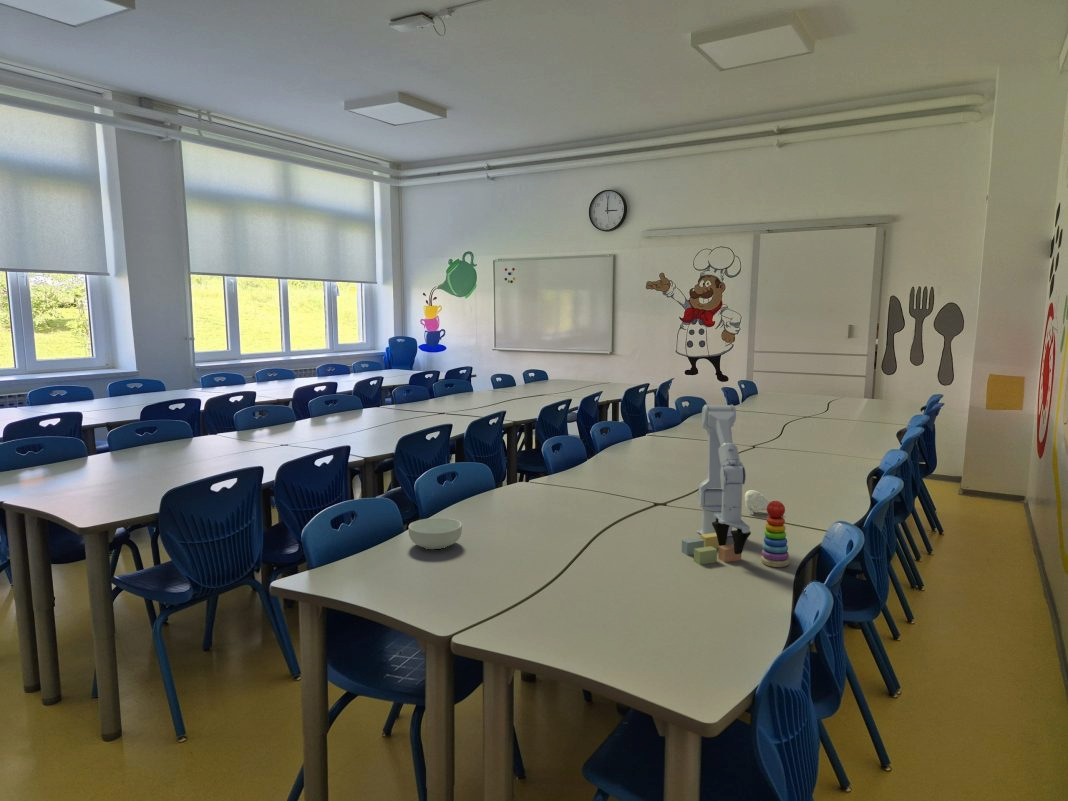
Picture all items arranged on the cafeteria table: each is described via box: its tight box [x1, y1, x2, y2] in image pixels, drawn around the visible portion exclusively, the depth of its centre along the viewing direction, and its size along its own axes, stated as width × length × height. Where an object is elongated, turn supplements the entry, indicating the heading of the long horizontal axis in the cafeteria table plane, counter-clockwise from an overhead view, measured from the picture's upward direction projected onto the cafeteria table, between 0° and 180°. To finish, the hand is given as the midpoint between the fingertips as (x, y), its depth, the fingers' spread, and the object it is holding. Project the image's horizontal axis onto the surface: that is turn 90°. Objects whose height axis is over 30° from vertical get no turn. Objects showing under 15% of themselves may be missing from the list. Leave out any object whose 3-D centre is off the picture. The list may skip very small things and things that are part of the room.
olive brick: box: [693, 546, 718, 566], centre depth 197 cm, size 6×3×4 cm, turn 110°
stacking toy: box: [760, 500, 790, 568], centre depth 194 cm, size 8×8×19 cm
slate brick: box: [681, 537, 704, 556], centre depth 205 cm, size 6×3×4 cm, turn 111°
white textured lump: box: [744, 489, 772, 516], centre depth 244 cm, size 6×8×12 cm
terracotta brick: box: [717, 543, 742, 563], centre depth 199 cm, size 6×3×4 cm, turn 111°
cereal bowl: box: [408, 517, 463, 550], centre depth 211 cm, size 17×17×7 cm
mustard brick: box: [699, 533, 719, 549], centre depth 209 cm, size 6×3×4 cm, turn 111°
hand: (730, 549), depth 198 cm, fingers open, 7 cm apart
